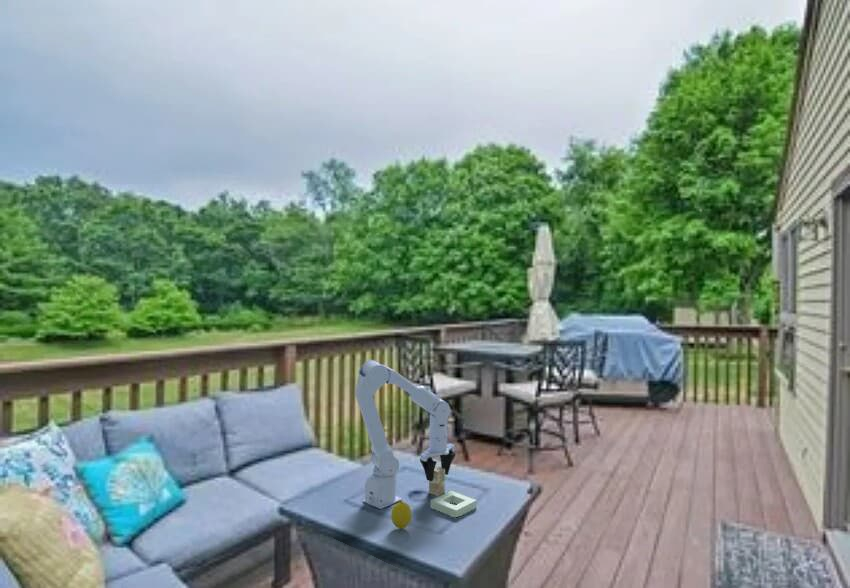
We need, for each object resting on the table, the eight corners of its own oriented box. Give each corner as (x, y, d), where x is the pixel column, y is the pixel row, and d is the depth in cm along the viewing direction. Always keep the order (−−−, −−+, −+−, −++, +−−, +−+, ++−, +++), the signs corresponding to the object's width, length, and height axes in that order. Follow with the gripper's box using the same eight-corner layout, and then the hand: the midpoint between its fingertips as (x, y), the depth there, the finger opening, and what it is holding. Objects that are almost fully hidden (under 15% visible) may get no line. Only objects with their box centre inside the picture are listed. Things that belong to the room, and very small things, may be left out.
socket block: (456, 518, 171) (456, 510, 171) (430, 508, 178) (430, 500, 178) (476, 508, 179) (476, 500, 178) (451, 498, 185) (451, 490, 185)
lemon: (400, 522, 168) (400, 495, 167) (414, 528, 164) (415, 501, 164) (387, 529, 164) (387, 501, 163) (401, 535, 160) (402, 507, 159)
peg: (437, 496, 187) (438, 471, 186) (428, 493, 189) (429, 468, 189) (444, 493, 189) (445, 468, 189) (436, 489, 192) (436, 466, 191)
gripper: (432, 444, 180) (432, 487, 181) (462, 433, 191) (461, 474, 192) (416, 438, 185) (415, 480, 186) (445, 429, 195) (444, 468, 196)
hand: (437, 477), depth 189 cm, fingers open, 7 cm apart
